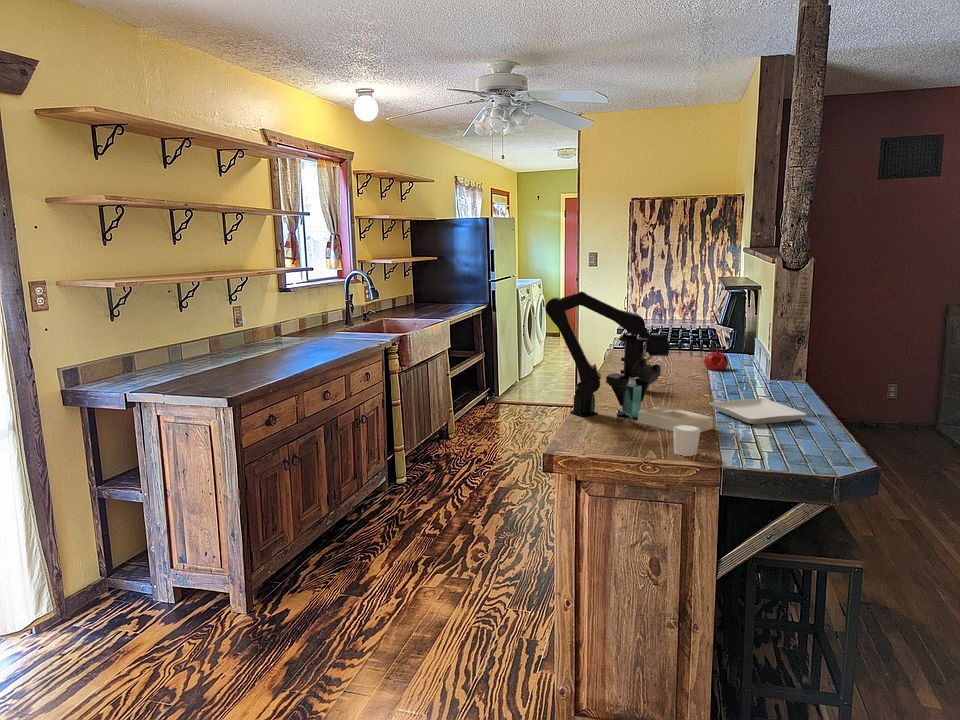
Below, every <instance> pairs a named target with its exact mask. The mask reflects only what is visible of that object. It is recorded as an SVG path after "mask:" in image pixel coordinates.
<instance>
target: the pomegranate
mask: <svg viewBox="0 0 960 720" xmlns="http://www.w3.org/2000/svg"><path fill="white" fill-rule="evenodd" d="M719 350H720V348H716V350H715V351H713V350H710V351H709V353H708V354H706V356H704V359H703V364H704V366H705V368H706V369H707V368H708V369H707V370H709V369H710V371H714V370H717V371H724V370H726V369H727V367H728V365H729V361H728V357H727V356H726V354H725V353H724V352H722V351H719ZM717 371H716V372H717Z"/></svg>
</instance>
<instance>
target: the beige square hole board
mask: <svg viewBox="0 0 960 720" xmlns="http://www.w3.org/2000/svg"><path fill="white" fill-rule="evenodd" d="M637 423H640V424H644V425H646V426H651V427H654V428H658V429H661V430H664V429H665V431H668V430H669V431H668V432H672V431H673V426H675V425H692V426H696V427H699V428H700V433H703V432H708V431H709V430H713V427H714V417H713V416H709V415H705V414H701V413H695V412H692V411H687V410H684V409H679V408H676V407H672V406H666V405H659V406H654V407H651V408H646V409H643V410H641V409H640V411H638V417H637Z"/></svg>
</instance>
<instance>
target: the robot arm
mask: <svg viewBox="0 0 960 720" xmlns="http://www.w3.org/2000/svg"><path fill="white" fill-rule="evenodd" d="M579 306H581V307H584V308H585V309H588V310H590V311H592V312H594V313H597V314H598V315H601V316H603V317H605V318H607V319H609V320H611V321H613V322H614V323H616V324H617V325H618V326H620V327H621V328H623V330H625V331H627V332H628V333H629V334H627V333H626V332H623V333H622V335H620V336H619V337H618V341H621V342H624V353H623V356H622V357H621V358H620V361H621V362H623V364H624V365H623V369H622V370H620V373H617V372H616V373H610V374H609V373H608V374H607V376H606V377H605V384H608V386H610V387H611V389H612V391H613V393H614V395H615V398H616V400H617V402H618V404H619V406H621V407H622V406H623V405H624V398H625V390H626V389H627V388H628V387H629V386H627V384H630V382H629V380H636V385H641V386H642V388H641V403H643V402H644V398H645V395H646V393H647V391H648V388H649V386H651V384H653V383H655V382H656V381H657V380H659V377H660V376H661V372H662V371H661V370H662V369H661V368H662V367H661V365H659V364H658V363H657V364H656V363H655V364H652V365H651V364H650V366H649V365H648V363H646V359H647V358H643V350H644V348H645V352H646V353H647V354H648V357H649V356H653V357H668V356H669V351H670V348H669V335H668V334H667V333H662V334H654V333H653V334H652V333H651V334H650V331H649V330H648V329H647V328H646V323H645V319H644V318H643V317H642V315H640V314H637V313H634V312H630V311H626V310H621V309H618V308H616V307H615V306H612V305H611V304H608V303H605V302H603V301H602V300H599V299H598V298H596V297H593V296H591V295H589V294H587V293H586V292H585V291H578V292H576V293H573V294H571V295H570V294H569V295H568V296H564V297H562V298H560V297H551V298H550V299H549V300H548V301H547V303H545V309H544V310H545V312H546V314H547V315H548V316H549V318H550V320H551V321H552V322H553V324H554V325H555V326H556V327H557V328H558V330H559V332H560V335H561V336H562V338H563V341H564V344H565V345H566V347H567V348H568V352H569V354H570V355H571V357H572V359H573V362H574V363H575V365H576V369H577V372H578V377H579V380H580V381H579V382H578V383H577V384H576V385H575V390H574V393H575V394H574V395H573V410H570V411H569V413H570V412H571V413H570V414H572V415H575V416H580V417H590V416H594V415H597V414H598V411H595V407H596V405H595V403H596V399H595V394H594V393H595V392H597V391H598V390H599V389H600V387H601V379H602V375H601V372H599V370H598V367H597V363H595V364H592V365H591V363H590V362H589V360H588V358H587V356H586V354H585V352H584V350H583V348H582V346H581V344H580V342H579V340H578V338H577V336H576V333H575V331H574V329H573V327H572V326H571V322H570V319H569V315H568V312H567V311H569V310H570V309H573V308H576V307H579ZM630 334H631V335H630ZM637 335H638V336H639V337H641V338H639V337H638V336H637ZM644 342H645V345H644ZM644 346H645V347H644ZM651 366H652V367H651ZM629 377H630V378H629Z"/></svg>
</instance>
